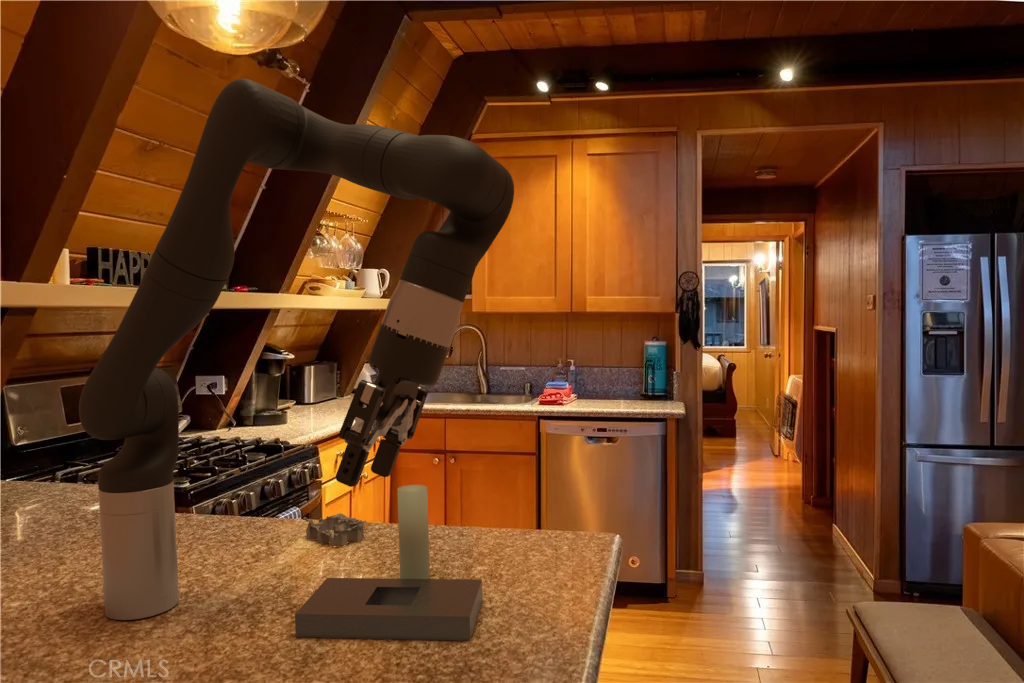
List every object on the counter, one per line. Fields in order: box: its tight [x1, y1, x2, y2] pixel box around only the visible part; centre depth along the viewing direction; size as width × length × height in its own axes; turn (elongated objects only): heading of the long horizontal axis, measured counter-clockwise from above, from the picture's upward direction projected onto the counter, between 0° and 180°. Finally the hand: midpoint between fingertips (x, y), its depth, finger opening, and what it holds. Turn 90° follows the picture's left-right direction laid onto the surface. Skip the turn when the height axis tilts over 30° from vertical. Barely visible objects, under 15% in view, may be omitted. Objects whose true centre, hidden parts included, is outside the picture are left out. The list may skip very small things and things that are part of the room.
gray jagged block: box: [302, 513, 367, 547], centre depth 130 cm, size 11×8×4 cm
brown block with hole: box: [294, 577, 484, 642], centre depth 96 cm, size 22×12×3 cm, turn 85°
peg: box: [397, 484, 431, 579], centre depth 109 cm, size 4×4×14 cm
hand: (363, 478), depth 76 cm, fingers open, 8 cm apart
